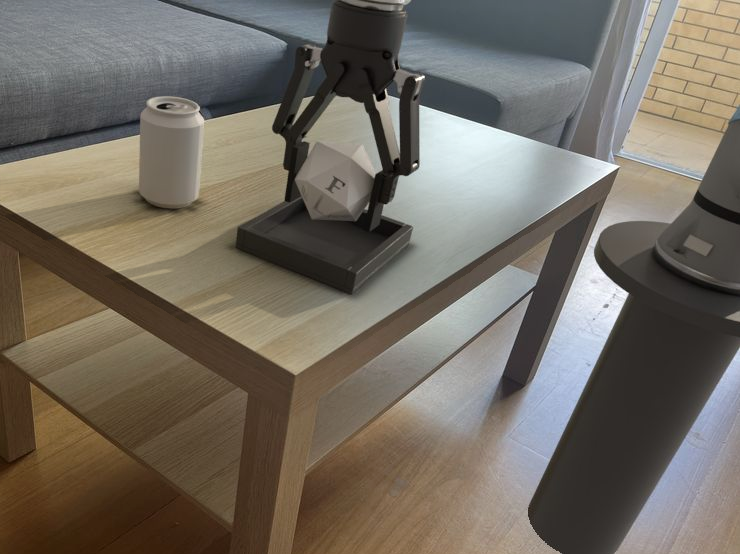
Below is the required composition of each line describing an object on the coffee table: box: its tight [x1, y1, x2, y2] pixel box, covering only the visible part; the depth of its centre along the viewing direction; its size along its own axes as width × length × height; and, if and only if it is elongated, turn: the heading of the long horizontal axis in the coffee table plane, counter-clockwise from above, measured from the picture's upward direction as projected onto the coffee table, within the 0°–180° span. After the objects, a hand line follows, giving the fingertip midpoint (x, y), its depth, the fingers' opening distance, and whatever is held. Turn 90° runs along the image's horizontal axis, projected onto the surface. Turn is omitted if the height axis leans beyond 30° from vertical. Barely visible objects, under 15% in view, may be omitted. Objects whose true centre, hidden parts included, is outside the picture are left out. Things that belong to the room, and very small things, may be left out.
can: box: [138, 95, 205, 210], centre depth 88 cm, size 8×8×12 cm
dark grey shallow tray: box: [235, 196, 414, 295], centre depth 85 cm, size 15×16×3 cm
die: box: [294, 140, 377, 221], centre depth 81 cm, size 8×9×10 cm
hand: (331, 212), depth 83 cm, fingers closed on die, 10 cm apart
